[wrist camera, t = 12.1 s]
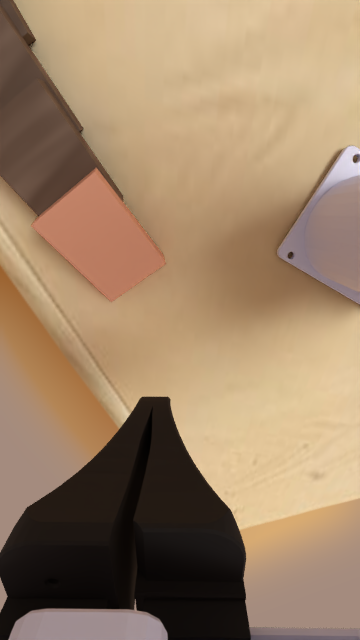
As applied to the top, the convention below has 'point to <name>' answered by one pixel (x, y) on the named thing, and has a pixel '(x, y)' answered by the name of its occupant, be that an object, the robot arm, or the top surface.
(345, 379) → the top surface
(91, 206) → the terracotta domino
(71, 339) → the top surface
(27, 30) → the domino
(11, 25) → the domino
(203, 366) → the top surface
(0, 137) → the domino
